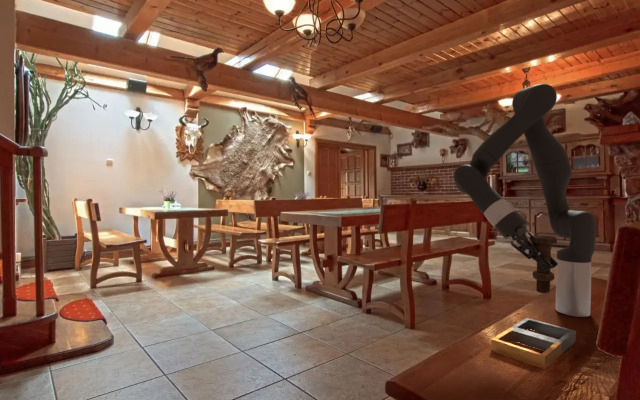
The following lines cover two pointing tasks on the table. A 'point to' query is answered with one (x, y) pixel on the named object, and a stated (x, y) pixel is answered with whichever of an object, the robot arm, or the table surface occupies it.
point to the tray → (534, 342)
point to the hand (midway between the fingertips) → (552, 267)
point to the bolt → (545, 249)
